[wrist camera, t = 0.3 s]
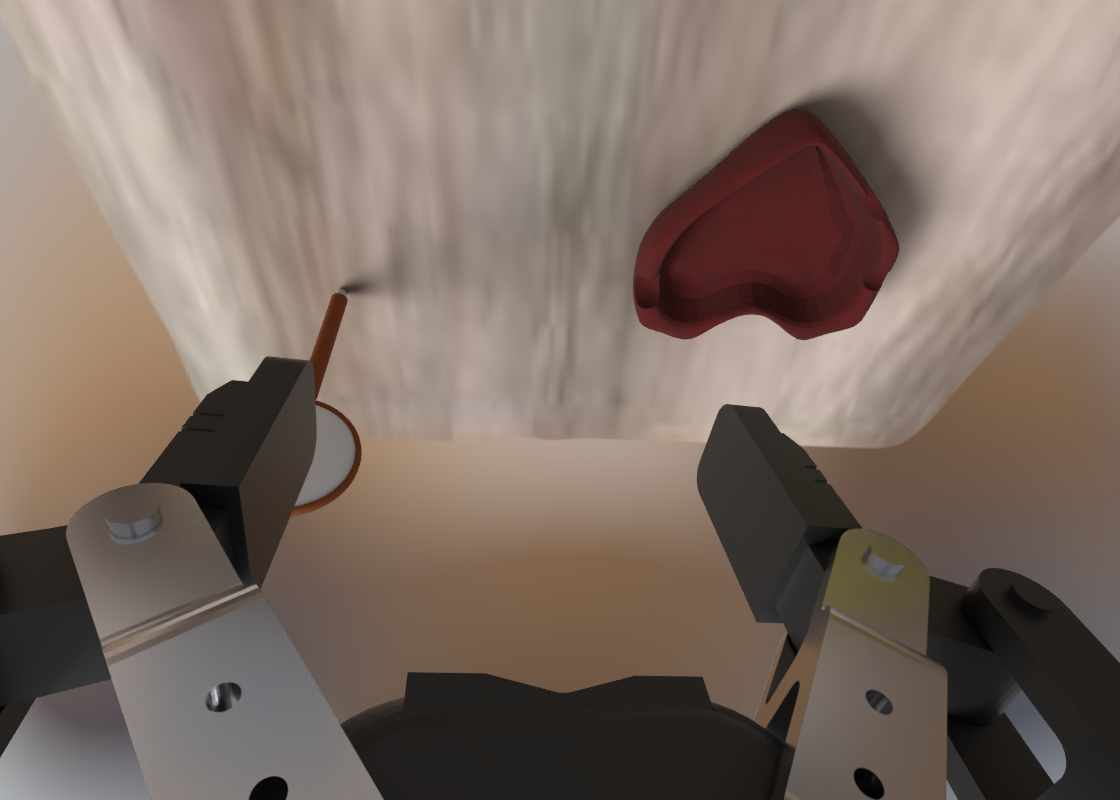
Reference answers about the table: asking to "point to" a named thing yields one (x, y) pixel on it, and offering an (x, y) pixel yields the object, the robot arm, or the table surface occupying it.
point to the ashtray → (768, 239)
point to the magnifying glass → (329, 428)
